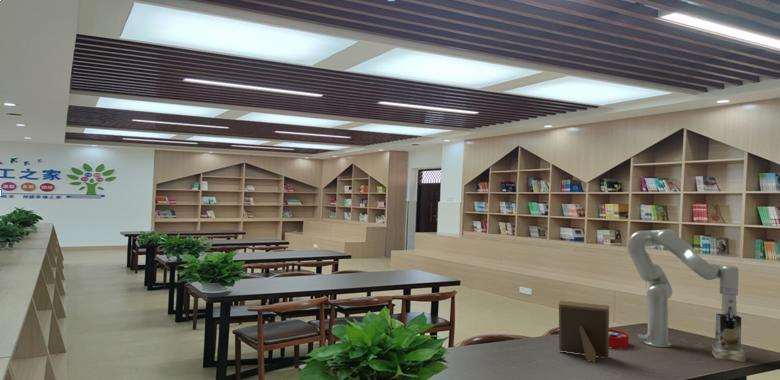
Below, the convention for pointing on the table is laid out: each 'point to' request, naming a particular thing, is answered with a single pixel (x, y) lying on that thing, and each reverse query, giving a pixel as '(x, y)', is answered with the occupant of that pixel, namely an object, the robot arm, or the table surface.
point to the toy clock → (618, 339)
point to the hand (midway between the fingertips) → (727, 326)
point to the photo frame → (584, 329)
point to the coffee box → (728, 333)
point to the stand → (729, 354)
